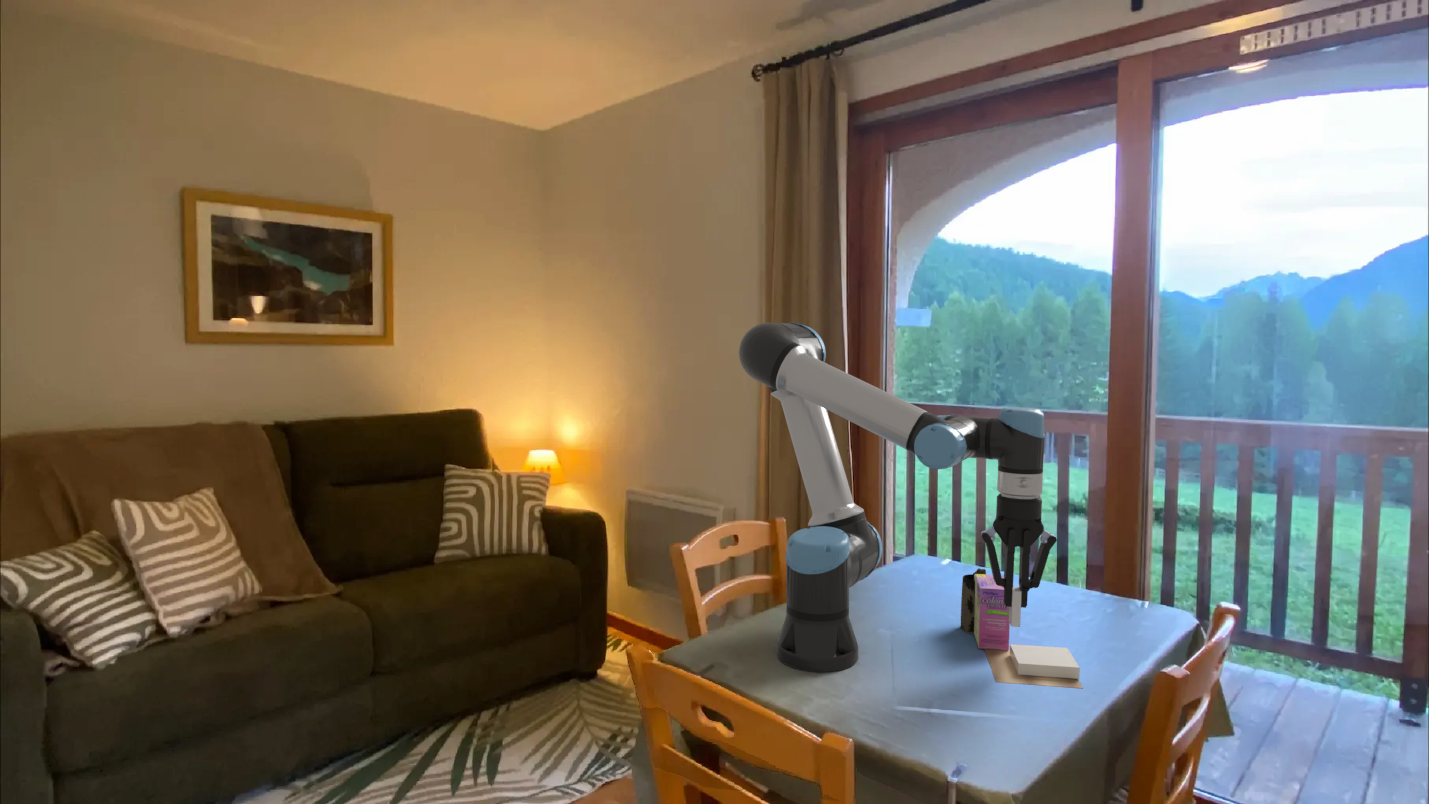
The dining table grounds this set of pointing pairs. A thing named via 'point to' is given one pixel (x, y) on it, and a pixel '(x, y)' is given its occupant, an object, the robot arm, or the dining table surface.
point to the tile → (1044, 661)
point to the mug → (968, 601)
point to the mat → (1008, 674)
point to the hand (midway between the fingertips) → (1014, 623)
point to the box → (990, 614)
